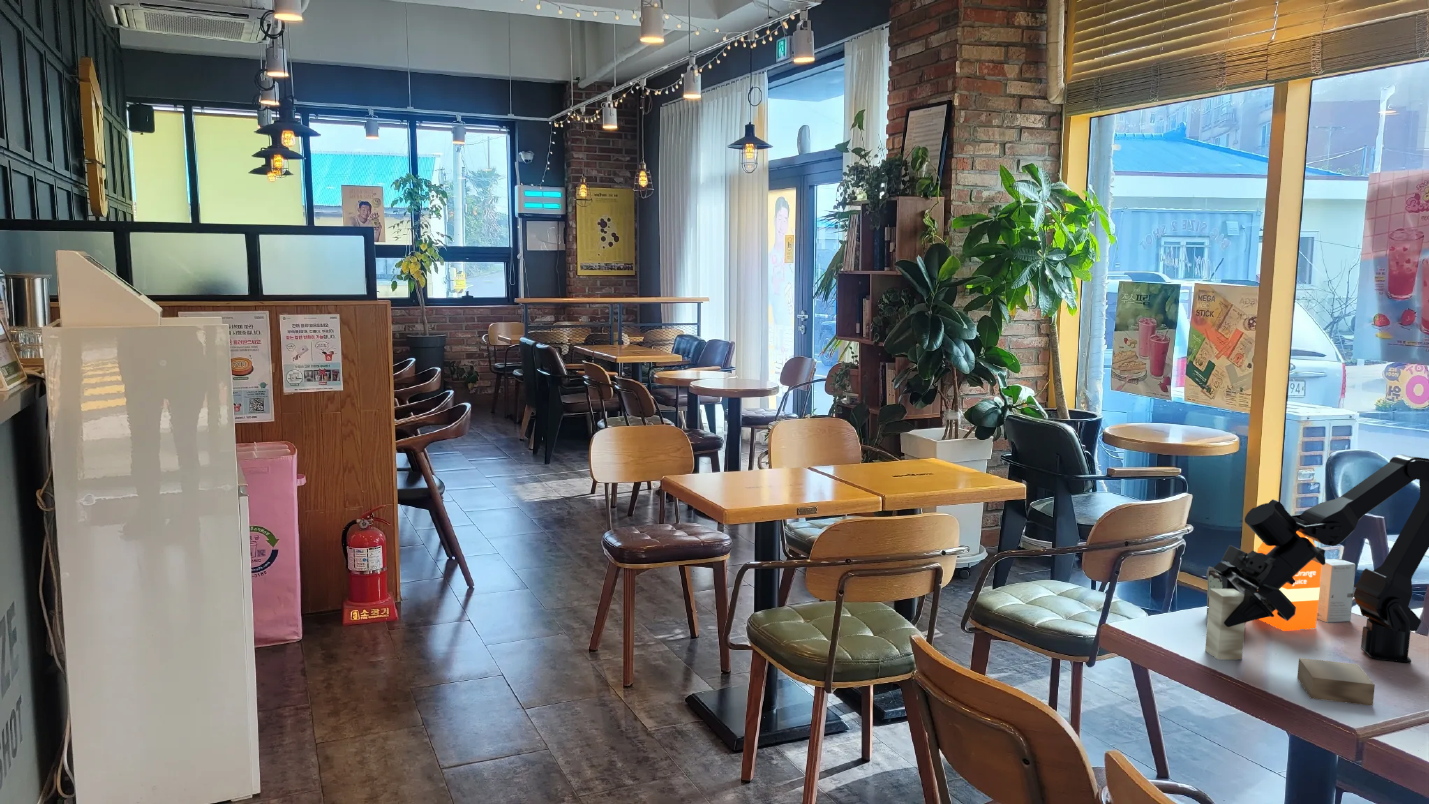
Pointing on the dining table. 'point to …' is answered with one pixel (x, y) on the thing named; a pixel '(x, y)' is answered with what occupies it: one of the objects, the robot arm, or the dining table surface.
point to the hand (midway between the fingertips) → (1218, 620)
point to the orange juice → (1299, 595)
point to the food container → (1213, 582)
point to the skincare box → (1336, 590)
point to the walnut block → (1335, 681)
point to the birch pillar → (1219, 636)
